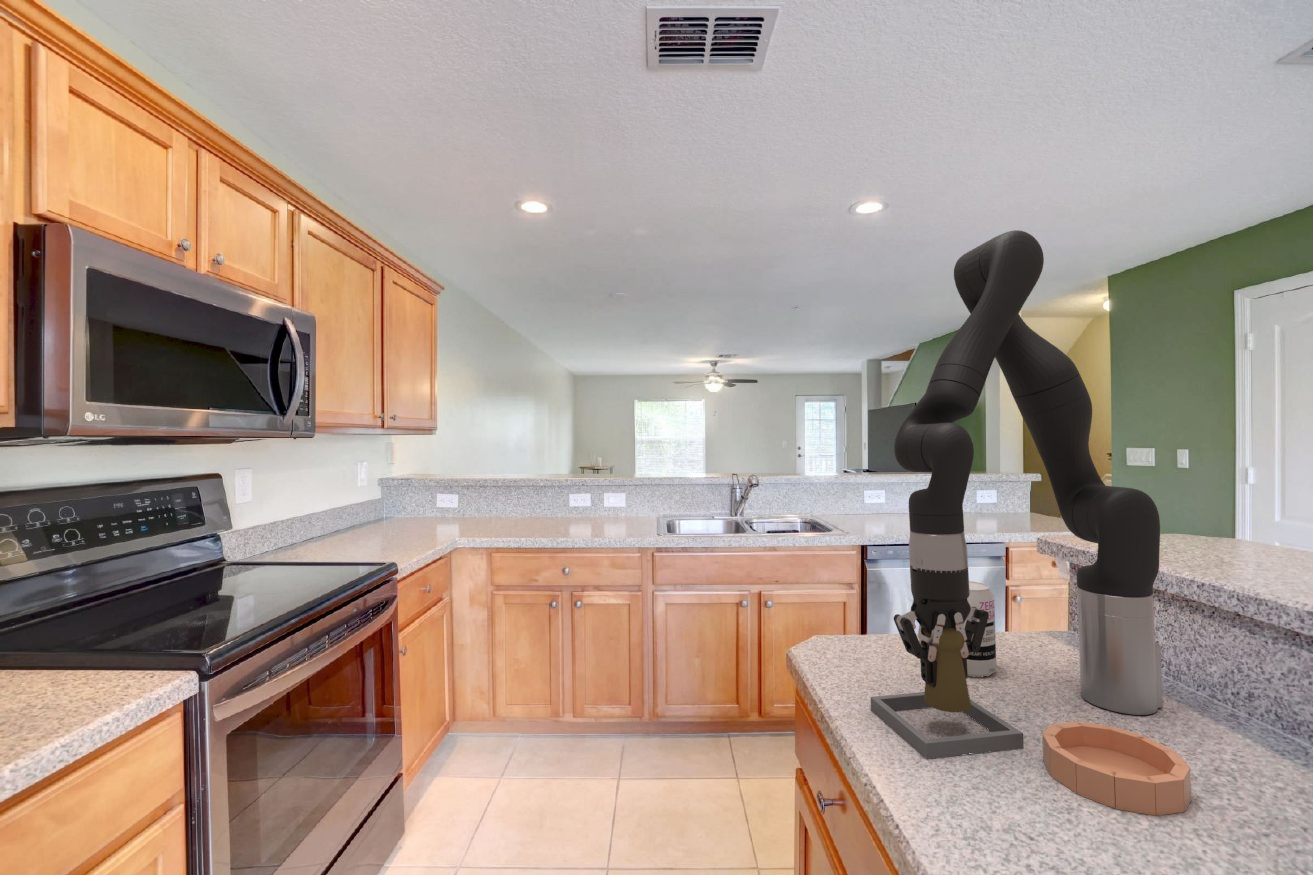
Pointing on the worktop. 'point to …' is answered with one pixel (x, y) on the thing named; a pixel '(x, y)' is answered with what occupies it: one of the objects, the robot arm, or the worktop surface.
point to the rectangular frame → (995, 740)
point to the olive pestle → (949, 675)
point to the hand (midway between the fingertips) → (944, 682)
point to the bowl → (1117, 768)
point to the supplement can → (986, 656)
